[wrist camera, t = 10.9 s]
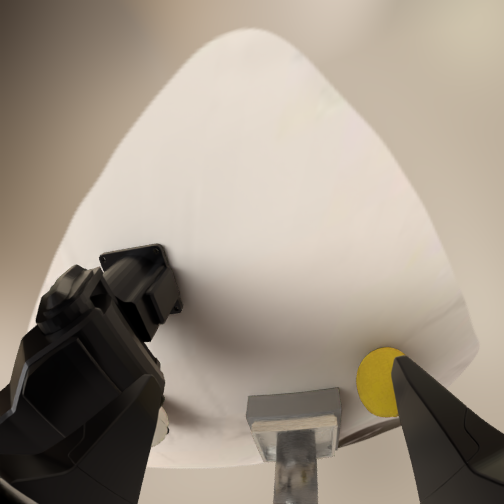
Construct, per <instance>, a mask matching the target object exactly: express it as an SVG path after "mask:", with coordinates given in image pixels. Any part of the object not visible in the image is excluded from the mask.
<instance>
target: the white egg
mask: <svg viewBox="0 0 504 504" xmlns="http://www.w3.org/2000/svg"><path fill="white" fill-rule="evenodd" d="M168 425H169V421H168V417H167V414H166V412H165V410H164V409H163V407H162V406H161V408H160V409H159V415H158V421H157V426H156V430H155V434H154V438H153V442H152V445H151V447H153V446H156V445H157V444H159V443H160V442H161V441H163V440H164V438H165V436H166V435H167V434H168V433H169V428H168Z"/></svg>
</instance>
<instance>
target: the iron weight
mask: <svg viewBox="0 0 504 504" xmlns="http://www.w3.org/2000/svg"><path fill="white" fill-rule="evenodd" d="M275 466H276V467H275V483H274V500H273V504H318V484H317V457H316V438H315V434H314V433H312V432H310V431H297V432H284V433H281V434H279V435H278V436H277V443H276V465H275Z"/></svg>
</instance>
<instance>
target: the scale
mask: <svg viewBox="0 0 504 504" xmlns="http://www.w3.org/2000/svg"><path fill="white" fill-rule="evenodd" d="M341 411H342V408H341V401H340V395H339V389H338V388H332V389H325V390H317V391H309V392H300V393H290V394H278V395H262V396H248V404H247V412H246V419H247V421H248V424H249V426H250V429H251V435H252V437H253V439H254V441H255V444H256V446H257V448H258V451H259V453H260V455H261V457H262V460H263V462H276V443H277V436H278V435H279V434H281V433H284V432H297V431H310V432H312V433H314V434H315V438H316V457H317V459H321V458H329V457H333V456H335V450H337V449H338V441H339V432H340V422H341Z"/></svg>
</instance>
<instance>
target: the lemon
mask: <svg viewBox="0 0 504 504" xmlns="http://www.w3.org/2000/svg"><path fill="white" fill-rule="evenodd" d="M402 355H405V354H404V353H403V352H401V351H399V350H398V349H395V348H390V347H383V348H379V349H376V350H374V351H372V352H370V353H369V354H368V355H367V356H366V357H365V358H364V359H363V360H362V362H361V364H360V366H359V368H358V371H357V377H356V385H357V390H358V394H359V397H360V399H361V401H362V403H363V404H364V406H365V407H366V408H367V410H368V411H369V412H371V413H372V414H374V415H376V416H379V417H397V416H399V415H398V410H397V405H396V399H395V394H394V388H393V383H392V378H391V371H392V367H393V362H394V358H395V357H397V356H402Z"/></svg>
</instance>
